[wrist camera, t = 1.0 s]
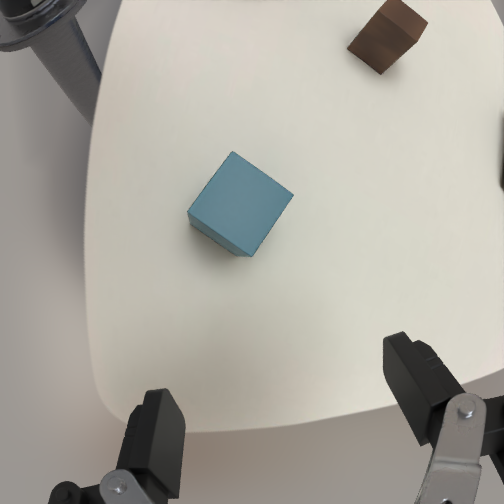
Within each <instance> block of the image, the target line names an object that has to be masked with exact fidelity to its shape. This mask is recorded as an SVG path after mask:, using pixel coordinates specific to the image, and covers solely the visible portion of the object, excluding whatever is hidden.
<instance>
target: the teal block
mask: <svg viewBox="0 0 504 504" xmlns="http://www.w3.org/2000/svg"><path fill="white" fill-rule="evenodd" d="M293 196H294V195H293V194H292V193H291V192H289V191H288V190H287V189H285V188H284V187H283V186H281V185H280V184H279V183H277V182H276V181H274V180H273V179H272V178H270V177H269V176H267V175H266V174H265V173H263V172H262V171H260V170H259V169H258V168H256V167H255V166H253V165H252V164H251V163H249V162H248V161H246V160H245V159H243V158H242V157H240V156H239V155H238V154H236V153H235V152H233V151H232V152H231V153H230V155H229V156H228V157H227V159H226V160H225V161H224V162H223V164H222V165H221V166H220V168H219V169H218V170H217V172H216V173H215V174H214V176H213V177H212V178H211V180H210V181H209V182H208V184H207V185H206V187H205V188H204V189H203V191H202V192H201V193H200V195H199V196H198V197H197V199H196V200H195V202H194V203H193V204H192V206H191V207H190V209H189V210H188V211H187V213H188V217H189V221H190V224H191V225H192V226H194V227H195V228H197V229H198V230H199V231H201V232H202V233H204V234H205V235H207V236H208V237H210V238H211V239H212V240H214V241H215V242H217V243H218V244H220V245H221V246H222V247H224V248H225V249H227V250H228V251H230V252H231V253H233V254H234V255H235V256H241V257H252V256H253V255H254V253H255V252H256V250H257V249H258V247H259V246H260V244H261V243H262V242H263V240H264V239H265V237H266V236H267V234H268V233H269V231H270V230H271V228H272V227H273V225H274V224H275V222H276V221H277V219H278V218H279V216H280V215H281V213H282V212H283V211H284V209H285V208H286V206H287V205H288V203H289V202H290V200H291V199H292V197H293Z"/></svg>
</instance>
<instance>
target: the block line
mask: <svg viewBox="0 0 504 504" xmlns="http://www.w3.org/2000/svg"><path fill="white" fill-rule="evenodd" d="M427 24H428V22H427V21H426V20H425V19H423V18H422V17H421V16H420V15H419V14H417V13H416V12H415V11H414V10H413V9H411V8H410V7H409V6H408V5H406V4H405V3H404V2H402V1H401V0H387V1H386V2H385V3H384V4H383V5H382V6H381V7H380V8H379V10H378V11H377V12H376V13H375V14H374V16H373V17H372V18H371V19H370V20H369V22H368V23H367V24H366V25H365V27H364V28H363V29H362V30H361V32H360V33H359V34H358V35H357V37H356V38H355V39H354V40H353V42H352V43H351V44H350V45H349V47H348V48H347V49H348V50H350V51H351V52H352V53H354V54H355V55H356V56H358V57H359V58H360V59H362V60H363V61H364V62H366V63H367V64H368V65H369V66H371V67H372V68H373V69H374V70H376V71H377V72H378V73H379V74H382V73H383V72H384V71H385V70H387V69H388V68H389V67H390V66H391V65H392V64H393V63H394V62H395V61H396V60H398V59H399V58H400V57H401V56H402V55H403V54H404V53H405V52H407V51H408V50H409V49H410V48H411V47H412V46H413V45H414V44H416V43H417V42H418V40H419V38H420V36H421V35H422V33H423V31H424V29H425V28H426V26H427Z"/></svg>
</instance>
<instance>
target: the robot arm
mask: <svg viewBox="0 0 504 504" xmlns="http://www.w3.org/2000/svg"><path fill="white" fill-rule="evenodd" d="M51 1H52V0H0V11H1V12H2V15H3V16H4V18H5V19H6V20H7V21H19V20H22V19H25V18H27V17H30V16H32V15H33V14H35V13H37V12H38V11H40V10H41V9H43V8H44V7H45V6H47V5H48V4H49V3H50V2H51ZM383 372H384V376H385V379H386V382H387V384H388V386H389V387H390V389H391V391H392V393H393V395H394V397H395V399H396V400H397V402H398V404H399V406H400V408H401V410H402V412H403V414H404V415H405V417H406V419H407V421H408V423H409V425H410V427H411V429H412V431H413V433H414V435H415V437H416V439H417V441H418V443H419V444H420V446H423V445H425V444H427V443H430V444H431V446H432V448H433V451H432V454H431V457H430V461H429V464H428V467H427V470H426V473H425V476H424V479H423V482H422V485H421V488H420V491H419V493H418V496H417V498H416V501H415V503H414V504H474V501H475V497H476V493H477V489H478V485H479V480H480V476H481V465H479V459H480V457H481V456H485V455H489V456H490V458H491V460H492V461H493V464H494V465H495V468H496V469H497V472H498V474H499V476H500V477H501V480H502V482H503V484H504V395H503V396H499V397H495V398H490V399H482V398H481V397H479V396H477V395H475V394H472V393H466V392H465V391H464V390H463V388H462V387H461V386H460V384H459V383H458V382H457V380H456V379H455V378H454V376H453V375H452V374H451V372H450V371H449V370H448V368H447V367H446V366H445V364H443V362H442V360H441V359H440V358H439V357H438V356H437V354H436V353H435V352H434V350H433V349H432V348H431V346H429V345H427V344H426V343H424V342H422V341H420V340H417V341H415V342H412V341H411V340H410V339H409V337H408V336H407V335H406V333H405V332H403V331H402V332H399V333H396V334H393V335H391V336H388V337H385V338H384V339H383ZM185 428H186V427H185V419H184V416H183V414H182V412H181V410H180V409H179V407H178V405H177V404H176V402H175V400H174V399H173V397H172V395H171V393H170V392H169V390H168V389H166V388H164V389H157V390H149V391H147V392H146V394H145V397H144V401H143V405H137V406H136V408H135V409H134V410H133V412H132V413H131V415H130V417H129V421H128V424H127V429H126V432H125V437H124V439H123V443H122V447H121V450H120V454H119V458H118V462H117V466H116V469H115V470H113V471H111V472H109V473H108V474H106V475H105V476H104V477H103V479H102V480H101V483H100V484H98V485H94V486H89V487H85V488H80V487H78V486H77V485H76V484H75V483H73V482H69V481H65V482H61V483H59V484H58V485H56V486H55V487H54V489H53V490H52V492H51V495H50V498H49V502H48V504H168V499H172V498H173V499H175V498H176V499H178V498H179V489H180V477H181V467H182V456H183V446H184V437H185Z"/></svg>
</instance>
